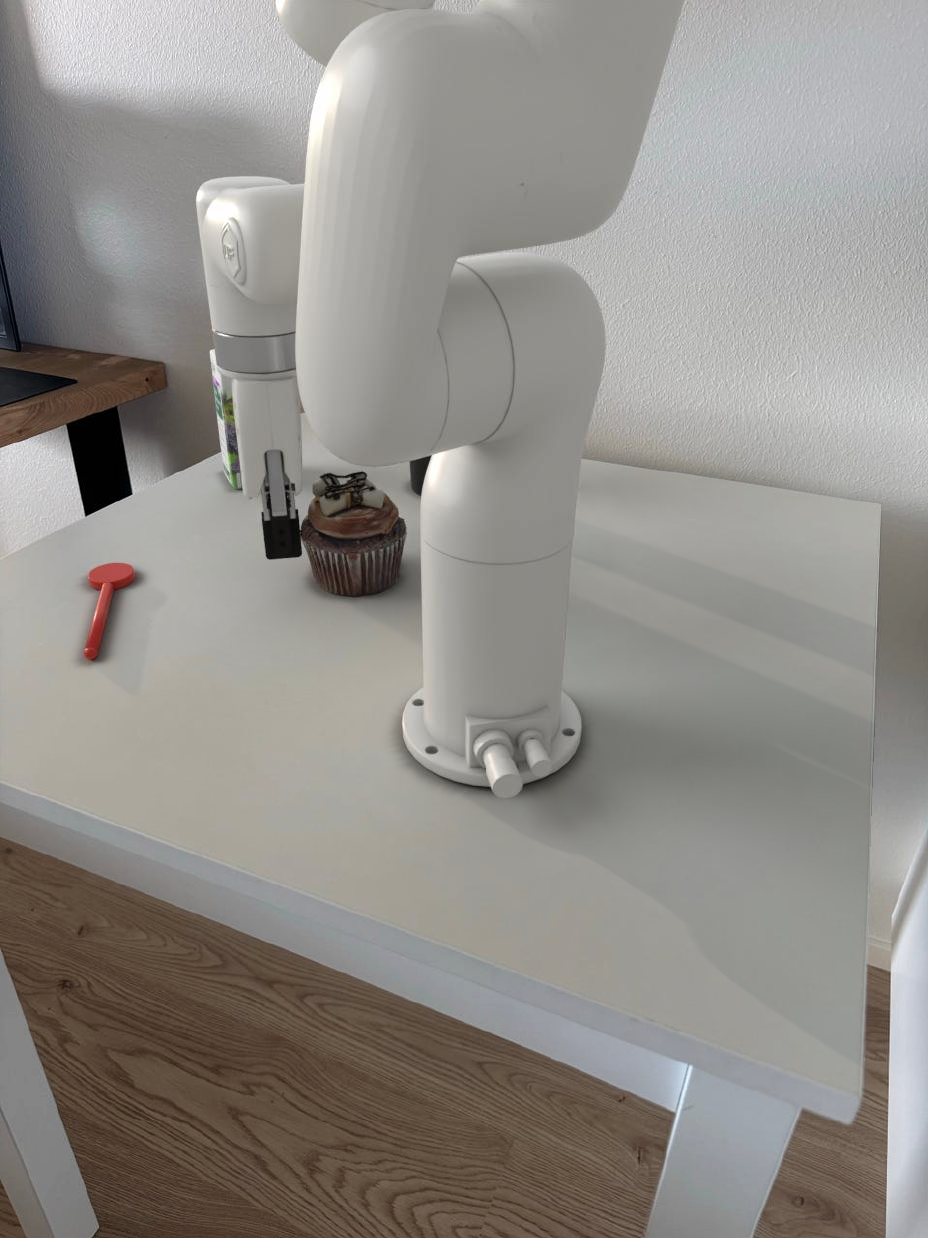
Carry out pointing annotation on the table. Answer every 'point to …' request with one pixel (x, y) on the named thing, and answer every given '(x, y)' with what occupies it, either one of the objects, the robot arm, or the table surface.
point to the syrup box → (226, 425)
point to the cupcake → (353, 536)
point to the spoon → (105, 598)
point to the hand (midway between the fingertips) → (284, 554)
